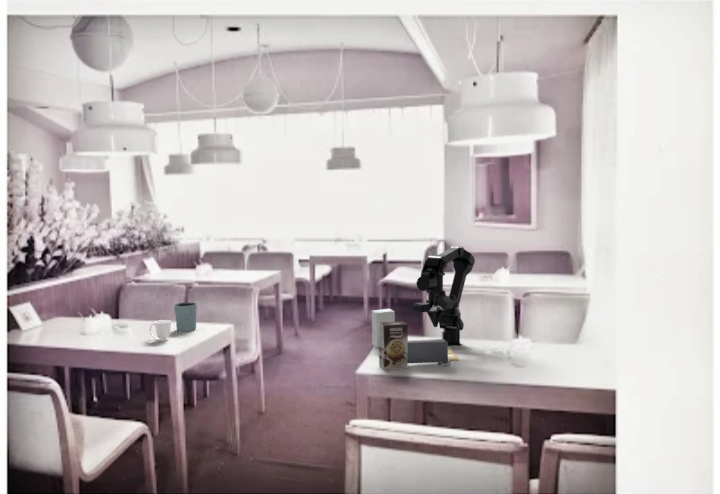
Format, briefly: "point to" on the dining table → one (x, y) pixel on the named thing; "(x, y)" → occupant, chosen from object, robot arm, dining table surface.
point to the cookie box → (393, 345)
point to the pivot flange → (444, 363)
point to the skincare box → (378, 317)
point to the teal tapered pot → (185, 316)
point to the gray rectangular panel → (427, 351)
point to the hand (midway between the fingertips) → (435, 326)
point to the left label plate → (452, 357)
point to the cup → (162, 329)
